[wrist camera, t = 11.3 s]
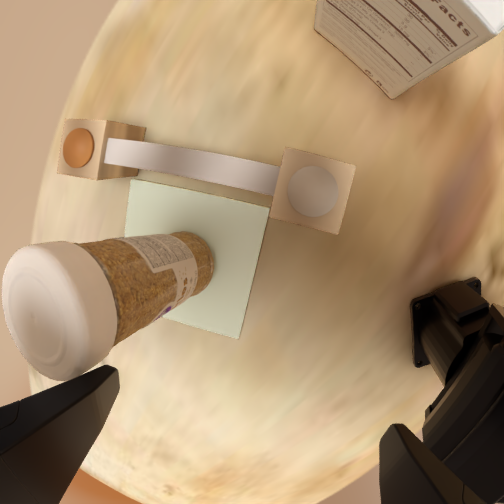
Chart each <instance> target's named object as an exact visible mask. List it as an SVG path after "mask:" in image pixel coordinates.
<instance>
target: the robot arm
mask: <svg viewBox="0 0 504 504" xmlns="http://www.w3.org/2000/svg"><path fill="white" fill-rule="evenodd" d="M475 283H476V285H475V286H474V284H475ZM418 303H419V305H418V307H415V305H416V304H418ZM489 306H490V304H489V302H487V301H486V300H485V299H484V298H483V297H481V281H480V280H479V279H478V278H472V279H469V280H467V281H464V282H463V281H460V282H457V283H455V284H452V285H449V286H446V287H443V288H441V289H438V290H436V291H435V292H433V293H431V294H428V295H425V296H422V297H419V298H415V299H414V300H413V301H412V302H411V304H410V310H411V323H412V341H413V363H414V365H415V367H417V368H419V367H422V366H425V365H428V364H431V365H432V366H433V368H434V370H435V372H436V373H437V375H438V377H439V379H440V381H441V382H442V384H443V386H444V389H443V390H442V391H441V393H440V394H439V395H438V397H437V398H436V400H435V401H434V402H433V403H432V405H429V407H428V408H427V409H426V410H425V422H424V425H423V428H422V432H423V442H421V441H420V440H419V439H418V438H417V437H416V436H415V435H414V434H413V433H412V432H411V431H410V430H409V429H408V428H407V427H406V426H405V425H404V424H392V425H390V427H389V428H388V430H387V431H386V432H385V434H384V435H383V436H382V438H381V440H380V444H379V465H380V466H379V482H380V494H381V504H495V503H501V504H504V307H501V306H499V305H496V304H494V303H492V305H491V307H489ZM418 361H420V362H419V363H418ZM119 389H120V383H119V373H118V370H117V369H116V368H114V367H112V366H109V365H103V366H101V367H99V368H96V369H94V370H92V371H90V372H87V373H85V374H83V375H80V376H78V377H75V378H73V379H71V380H68V381H66V382H64V383H61V384H59V385H56V386H54V387H51V388H49V389H47V390H44V391H42V392H39V393H37V394H34V395H32V396H29V397H27V398H24V399H22V400H21V401H16V402H13V403H11V404H8V405H5V406H2V407H0V504H59V502H60V501H61V499H62V497H63V495H64V493H65V492H66V490H67V488H68V486H69V485H70V483H71V481H72V479H73V478H74V476H75V474H76V472H77V471H78V469H79V467H80V466H81V464H82V462H83V460H84V459H85V457H86V455H87V454H88V452H89V450H90V449H91V447H92V445H93V444H94V442H95V440H96V439H97V437H98V435H99V434H100V432H101V430H102V428H103V426H104V424H105V422H106V420H107V417H108V415H109V413H110V411H111V408H112V406H113V404H114V402H115V399H116V397H117V395H118V393H119Z"/></svg>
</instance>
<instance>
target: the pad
mask: <svg viewBox="0 0 504 504" xmlns="http://www.w3.org/2000/svg"><path fill="white" fill-rule="evenodd" d="M269 210H270V208H269V207H265V206H261V205H257V204H253V203H248V202H244V201H240V200H235V199H231V198H226V197H222V196H217V195H213V194H208V193H204V192H199V191H194V190H189V189H185V188H180V187H175V186H170V185H165V184H160V183H155V182H149V181H144V180H139V179H131V183H130V190H129V198H128V206H127V215H126V224H125V235H124V237H133V236H144V235H153V234H167V235H168V234H172V233H174V232H181V231H185V232H190V233H193V234H195V235H197V236H199V237H200V238H201V239H202V240H204V241H205V242H206V244H207V246H208V247H209V249H210V251H211V253H212V257H213V260H214V271H213V275H212V279H211V281H210V283H209V284H208V286H207V287H206V288H205V289H204V290H203V291H202V292H200V293H199V294H197V295H195V296H192V297H189V298H188V299H187V300H186V301H185V302H183V303H182V304H180V305H179V306H177V307H176V308H174V309H172V310H171V311H169V312H167V313H166V314H164V315H163V316H161V317H164V318H167V319H170V320H173V321H176V322H180V323H183V324H186V325H189V326H193V327H196V328H199V329H203V330H206V331H210V332H213V333H217V334H220V335H224V336H228V337H231V338H235V339H239V336H240V332H241V328H242V324H243V320H244V315H245V311H246V307H247V303H248V299H249V295H250V290H251V286H252V282H253V278H254V274H255V270H256V265H257V261H258V257H259V253H260V248H261V244H262V240H263V236H264V232H265V227H266V223H267V219H268V215H269Z"/></svg>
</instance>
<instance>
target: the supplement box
mask: <svg viewBox="0 0 504 504" xmlns="http://www.w3.org/2000/svg"><path fill="white" fill-rule="evenodd" d="M314 29H315V30H316V31H317V32H319V33H320V34H321V35H322V36H323V37H325V38H326V39H327V40H328V41H329V42H331V43H332V44H333V45H334V46H336V47H337V48H338V49H339V50H340V51H341V52H343V53H344V54H345V55H346V56H347V57H348V58H349V59H350V60H351V61H353V62H354V63H355V64H356V65H357V66H358V67H359V68H360V69H361V70H362V71H363V72H364V73H365V74H366V75H368V76H369V78H371V79H372V80H373V81H374V82H375V83H376V84H377V85H378V86H379V87H380V88H381V89H382V90H383V91H384V93H385V94H386V95H387V96H388V97H389V98H391V99H394V98H396V97H397V96H399V95H400V94H402V93H403V92H405V91H406V90H408V89H409V88H411V87H412V86H414V85H416V84H417V83H419V82H420V81H422V80H424V79H425V78H427V77H429V76H430V75H432V74H434V73H435V72H437V71H438V70H440V69H442V68H443V67H445V66H447V65H448V64H450V63H452V62H454V61H455V60H457V59H459V58H461V57H462V56H464V55H466V54H467V53H469V52H471V51H473V50H474V49H476V48H477V47H479V46H481V45H482V44H484V43H486V42H487V41H489V40H490V39H492V38H494V37H495V36H497V35H498V34H499V33H500V32H501V31H502V30H503V29H504V0H317V5H316V14H315V23H314Z"/></svg>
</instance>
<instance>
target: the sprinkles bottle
mask: <svg viewBox="0 0 504 504" xmlns="http://www.w3.org/2000/svg"><path fill="white" fill-rule="evenodd" d="M213 271H214V260H213V257H212V253H211V251H210V249H209V247H208V246H207V244H206V242H205V241H204V240H202V239H201V238H200V237H199V236H197V235H195V234H193V233H190V232H185V231H181V232H174V233H172V234H168V235H167V234H153V235H144V236H133V237H122V238H112V239H106V240H103V241H97V242H89V243H81V244H78V243H70V242H66V241H56V242H46V243H40V244H33V245H28V246H25V247H22V248H20V249H19V250H18V251H17V252H16V253H15V254H14V255H13V256H12V257H11V258H10V260H9V262H8V264H7V266H6V269H5V272H4V276H3V281H2V304H3V310H4V316H5V319H6V323H7V326H8V329H9V331H10V334H11V336H12V338H13V340H14V342H15V344H16V346H17V348H18V349H19V351H20V352H21V354H22V355H23V356H24V358H25V359H26V360H27V362H28V363H29V364H30V365H31V366H32V367H33V368H34V369H35V370H37V371H38V372H39V373H41V374H42V375H44V376H46V377H48V378H50V379H53V380H57V381H68V380H71V379H73V378H75V377H78V376H80V375H81V374H83V373H84V372H86V371H88V370H89V369H91V368H92V367H94V366H95V365H97V364H98V363H99V362H101V361H102V360H103V359H104V358H105V357H106V356H107V355H108V354H109V352H110V350H111V349H112V348H113V346H115V345H117V344H118V343H119V342H121V341H122V340H124V339H126V338H127V337H129V336H130V335H132V334H133V333H135V332H137V331H138V330H139V329H141V328H144V327H146V326H148V325H149V324H151V323H152V322H154V321H155V320H157V319H158V318H160V317H161V316H163V315H164V314H166V313H167V312H169V311H171V310H172V309H174V308H176V307H177V306H179V305H180V304H182V303H183V302H185V301H186V300H187V299H188V298H189V297H192V296H195V295H197V294H199V293H200V292H202V291H203V290H204V289H205V288H206V287H207V286H208V284H209V283H210V281H211V279H212V275H213Z"/></svg>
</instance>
